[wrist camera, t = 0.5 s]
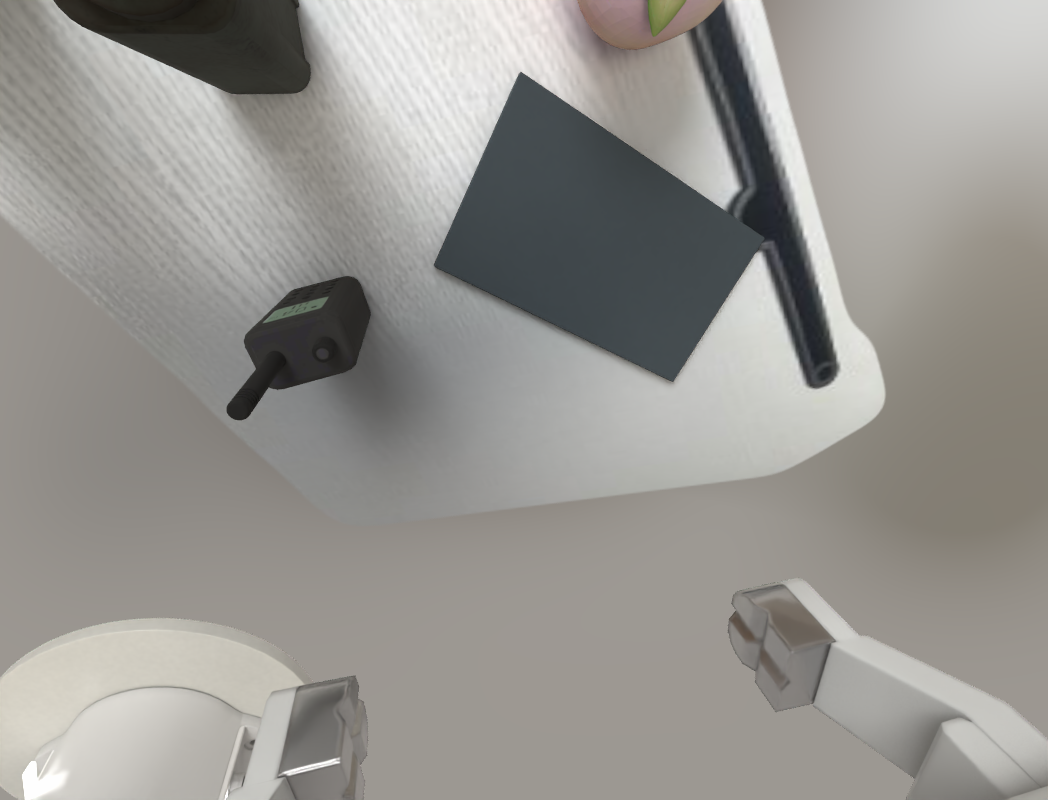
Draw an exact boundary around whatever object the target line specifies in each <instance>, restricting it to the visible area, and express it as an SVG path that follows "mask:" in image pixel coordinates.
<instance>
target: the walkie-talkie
mask: <svg viewBox="0 0 1048 800" xmlns="http://www.w3.org/2000/svg"><path fill="white" fill-rule="evenodd" d="M369 319H370V310H369V307H368V304H367V301H366V299H365V296H364V293H363V290H362V288H361V285H360V283H359V282H358V280H356V279H355V278H353V277H350V276H346V277H341V278H337V279H333V280H329V281H325V282H321V283H317V284H314V285H310V286H306V287H302V288H298V289H295V290H293V291H291V292H290V293H289V294H287V295H286V296H285V297H284V298H283V299H282V300H281V301H280V302H279V303H278V304H277V305H276V306H275V307H274V308H273V309H272V310H271V311H270V312H269V313H268V314H267V315H265V316H264V317H263V318H262V319H261V320H260V321H259V322H258V323H257V324H256V325H255V326H254V327H253V328H252V329H251V330H250V331H249V332H248V333H247V334H246V335H245V339H244V344H245V348H246V349H247V351H248V353H249V355H250V357H251V359H252V361H253V363H254V365H255V367H256V370H255V371H254V373H253V374H252V375H251V376H250V378H249V379H248V380H247V381H246V383H245V384H244V385H243V386H242V388H241V389H240V390H239V391H238V393H237V394H236V395H235V396H234V398H233V399H232V400H231V401H230V403H229V404H228V405H227V413H228V415H229V416H230V417H231V418H233V419H235V420H244V419H246V418H247V417H249V415H250V414H251V412H252V411H253V409H254V408H255V407H256V405H257V404H258V402H259V401H260V399H261V398H262V396H263V395H264V393H265V392H266V390H267V389H268V387H270V388H272V389H277V390H278V389H285V388H289V387H293V386H296V385H300V384H303V383H307V382H311V381H314V380H318V379H322V378H325V377H329V376H332V375H336V374H340V373H343V372H346V371H348V370H351V369H352V368H353V367H354V366H355V365H356V362H357V359H358V356H359V352H360V349H361V346H362V342H363V339H364V336H365V332H366V329H367V325H368V322H369Z"/></svg>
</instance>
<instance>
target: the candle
mask: <svg viewBox="0 0 1048 800" xmlns="http://www.w3.org/2000/svg"><path fill="white" fill-rule="evenodd" d="M54 1H55V3H56V4H57V6H58V7H59V8H60V9H61V10H62V11H63V12H64V13H65V14H66V15H67V16H68V17H69V18H70V19H72V20H73V21H75V22H76V23H78V24H79V25H81V26H82V27H84V28H87V29H89V30H91V31H93V32H95V33H98V34H100V35H102V36H104V37H106V38H109V39H111V40H113V41H115V42H118V43H120V44H122V45H124V46H126V47H129V48H131V49H133V50H135V51H138V52H140V53H142V54H144V55H146V56H149V57H151V58H153V59H155V60H157V61H160V62H162V63H164V64H166V65H169V66H171V67H173V68H175V69H177V70H180V71H182V72H184V73H186V74H188V75H191V76H193V77H195V78H197V79H200V80H202V81H204V82H206V83H208V84H211V85H213V86H215V87H217V88H219V89H222V90H224V91H226V92H229V93H233V94H291V93H298V92H300V91H302V90H303V89H304V88H305V87H306V86H307V84H308V82H309V80H310V75H311V71H310V65H309V64H308V63H307V61H306V60H305V56H304V51H303V45H302V40H301V34H300V29H299V24H298V18H297V13H296V8H297V7H299V3H298V0H54Z"/></svg>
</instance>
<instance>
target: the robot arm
mask: <svg viewBox="0 0 1048 800" xmlns="http://www.w3.org/2000/svg"><path fill="white" fill-rule="evenodd" d="M732 605H733V607H734V608H735V609H736V611H735V612H734V614H733V615H732V616H731V617H730V618H729V624H728V633H729V638H730V642H731V645H732V647H733V649H734V651H735V653H736V655H737V656H738V658H739V659H740V660H741V662H742V663H743V664H744V665H746V666H747V667H749V668H751V669H752V670H754V671H755V682H756V684H757V686H758V687H759V689H760V690H761V692H762V693H763V694H764V696H765V697H766V699H767V700H768V701H769V703H770V705H771V706H772V707H773V709H774V710H775V712H778V711H783V710H787V709H792V708H796V707H800V706H804V705H809V704H813V703H814V704H813V706H814V707H815V708H816V709H818V710H819V711H821V712H822V713H823V714H825V715H826V716H828V717H829V718H830V719H832V720H833V721H835V722H836V723H838V724H839V725H840V726H842V727H843V728H844V729H846V730H847V731H849V732H850V733H851V734H853V735H854V736H855V737H857V738H858V739H860V740H861V741H863V742H864V743H865V744H867V745H868V746H869V747H871V748H872V749H874V750H875V751H876V752H878V753H879V754H881V755H882V756H883V757H885V758H886V759H888V760H889V761H890V762H892V763H893V764H895V765H896V766H897V767H899V768H900V769H902V770H903V771H904V772H906V773H907V774H909V775H910V776H912V777H913V778H914V779H915V780H914V782H913V784H912V786H911V788H910V791H909V793H908V795H907V797H906V800H1048V738H1046V737H1045V736H1044V735H1043V734H1042V733H1041V732H1040V731H1039V730H1037V729H1036V728H1035V727H1034V726H1033V725H1032V724H1031V723H1029V722H1028V721H1027V720H1026V719H1025V718H1024V717H1023V716H1022V715H1020V714H1019V713H1018V712H1017V711H1016V710H1015V709H1014V708H1013V707H1011V706H1010V705H1009V704H1008V703H1007V702H1005V701H1003V700H1001V699H999V698H997V697H995V696H993V695H990V694H988V693H986V692H984V691H982V690H980V689H978V688H976V687H974V686H972V685H970V684H967V683H965V682H963V681H961V680H959V679H957V678H955V677H953V676H951V675H948V674H947V673H945V672H942V671H940V670H938V669H936V668H934V667H932V666H930V665H928V664H926V663H924V662H922V661H919V660H917V659H915V658H913V657H911V656H909V655H907V654H905V653H903V652H901V651H899V650H897V649H894V648H892V647H890V646H888V645H886V644H884V643H882V642H880V641H878V640H876V639H873V638H872V637H869V636H867V635H863V636H859V635H858V634H857V633H856V632H855V631H854V630H853V629H852V628H851V627H850V626H849V625H848V624H847V623H846V622H845V621H844V620H843V619H842V618H841V617H840V616H839V615H838V613H836V611H835V610H834V609H833V608H832V607H830V606H829V604H828V603H827V602H826V601H825V600H824V599H823V598H822V597H821V596H820V595H819V594H818V593H817V592H816V591H815V590H814V589H813V588H812V587H811V586H810V585H809V584H808V583H807V582H806V581H804V580H802V579H801V578H795V579H790V580H786V581H782V582H777V583H775V582H774V583H770V584H766V585H761V586H757V587H753V588H748V589H745V590H740V591H737V592H736V593H735V594H734V595H733V599H732ZM358 692H359V685H358V682H357V679H356V677H355V676H349V677H344V678H339V679H334V680H328V681H323V682H317V683H312V684H307V685H302V686H297V687H292V688H287V689H282V690H277V691H273V692H271V694H270V696H269V698H268V699H267V701H266V704H265V707H264V711H263V715H262V718H260V717H257V716H253V715H249V714H245V713H242V712H240V711H238V710H236V709H234V708H233V707H231V706H230V705H228V704H227V703H225V702H224V701H222V700H220V699H218V698H216V697H213V696H211V695H208V694H205V693H202V692H198V691H194V690H189V689H183V688H173V687H151V688H141V689H134V690H129V691H125V692H121V693H117V694H114V695H111V696H109V697H106V698H104V699H102V700H99V701H98V702H96V703H94V704H92V705H91V706H89V707H88V708H86V709H85V710H84V711H82V712H81V713H80V714H79V715H78V716H77V717H76V718H75V720H74V721H73V722H72V724H71V725H70V727H69V728H68V730H67V731H66V732H65V733H64V734H63V735H61V736H59V737H57V738H55V739H53V740H52V741H50V742H48V743H47V744H45V745H44V746H42V747H41V748H40V750H39V752H38V754H37V756H36V758H35V760H34V762H31V763H30V764H29V766H28V767H27V769H26V770H25V772H24V773H23V783H24V792H25V800H363V799H364V786H365V780H364V776H363V773H362V770H361V766H360V765H361V764H362V762H363V761H364V759H365V757H366V756H367V747H368V722H367V715H366V709H365V706H364V702H363V701H362V700H360V699H358ZM36 769H37V770H38V771H39V772H40V775H39V777H38V778H37V772H36Z"/></svg>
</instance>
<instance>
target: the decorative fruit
mask: <svg viewBox="0 0 1048 800" xmlns="http://www.w3.org/2000/svg"><path fill="white" fill-rule="evenodd" d="M577 1H578V4H579V7H580V9H581V12H582V14H583V16H584V18H585V19H586V21H587V23H588V24H589V26H590V27H591V28H592V30H593V31H594V32H595V33H596V34H597V35H598V36H599V37H600V38H601V39H602V40H604V41H605V42H606V43H608V44H610V45H612V46H615V47H617V48H622V49H627V50H636V49H642V48H646V47H650V46H653V45H656V44H658V43H661V42H664V41H666V40H669V39H671V38H674V37H676V36H678V35H680V34H683V33H685V32H686V31H688V30H690V29H692V28H693V27H695V26H696V25H698V24H699V23H701V22H702V21H703V20H704V19H705V18H707V17H708V16H709V15H710V14H711V13H712V12H713V11H714V10H715V9H716V8H717V6H718V5H719V4H720V3H721V2H722V0H577Z"/></svg>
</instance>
